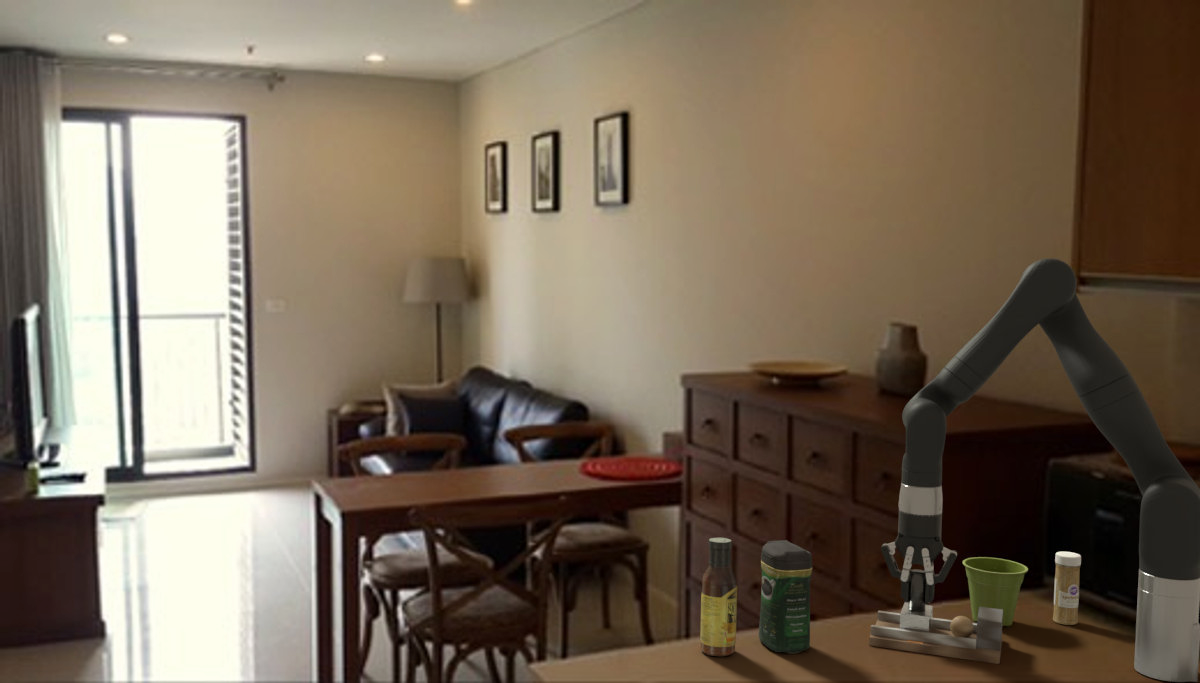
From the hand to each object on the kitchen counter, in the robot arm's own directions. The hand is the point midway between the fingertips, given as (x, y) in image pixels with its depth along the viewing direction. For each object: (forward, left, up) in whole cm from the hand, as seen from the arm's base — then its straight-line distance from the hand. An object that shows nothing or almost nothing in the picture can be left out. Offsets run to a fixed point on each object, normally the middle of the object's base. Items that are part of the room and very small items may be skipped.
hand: (916, 601), depth 196 cm
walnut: (-8, 0, -4) cm, 9 cm away
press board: (-4, 0, -7) cm, 8 cm away
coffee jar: (+21, +13, -7) cm, 26 cm away
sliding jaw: (0, 0, -5) cm, 5 cm away
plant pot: (-13, -17, -7) cm, 22 cm away
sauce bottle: (+31, +21, -7) cm, 38 cm away
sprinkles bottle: (-26, -23, -7) cm, 35 cm away
